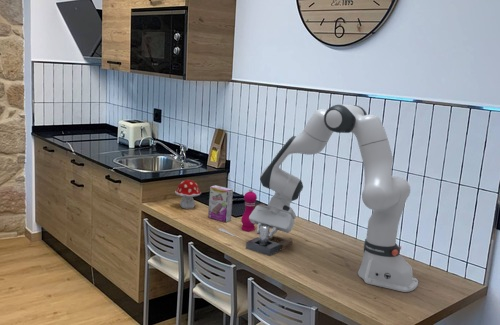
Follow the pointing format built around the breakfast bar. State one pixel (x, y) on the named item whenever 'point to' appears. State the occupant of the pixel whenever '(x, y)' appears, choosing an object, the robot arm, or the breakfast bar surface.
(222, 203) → the candy bar box
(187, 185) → the decorative mushroom
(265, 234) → the steel axle
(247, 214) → the pepper mill
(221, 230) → the butter knife
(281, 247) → the wooden picture frame
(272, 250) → the socket block
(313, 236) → the breakfast bar surface
